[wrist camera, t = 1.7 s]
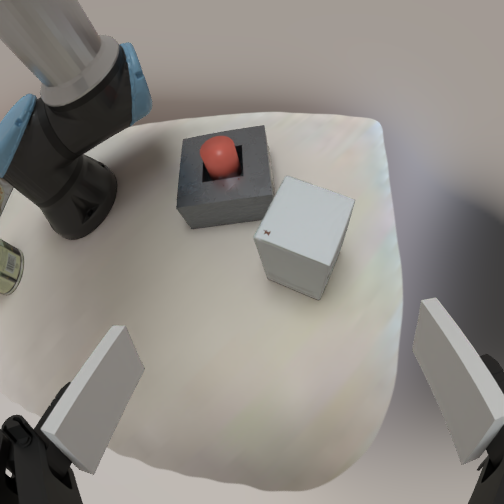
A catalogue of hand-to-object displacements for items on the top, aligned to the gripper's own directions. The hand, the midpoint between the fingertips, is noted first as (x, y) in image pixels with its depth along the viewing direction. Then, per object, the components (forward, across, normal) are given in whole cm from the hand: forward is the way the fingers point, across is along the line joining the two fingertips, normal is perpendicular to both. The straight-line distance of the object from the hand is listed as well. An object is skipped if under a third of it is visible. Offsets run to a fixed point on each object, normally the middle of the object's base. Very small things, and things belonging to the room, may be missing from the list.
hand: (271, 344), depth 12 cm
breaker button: (+31, -6, +4) cm, 32 cm away
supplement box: (+25, +3, -8) cm, 26 cm away
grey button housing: (+34, -6, +1) cm, 34 cm away
